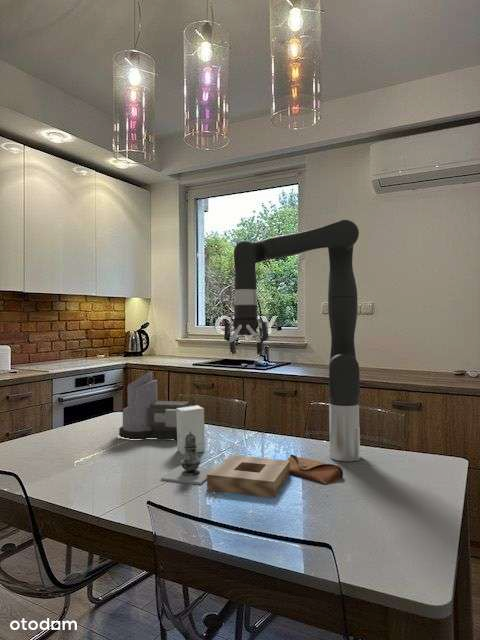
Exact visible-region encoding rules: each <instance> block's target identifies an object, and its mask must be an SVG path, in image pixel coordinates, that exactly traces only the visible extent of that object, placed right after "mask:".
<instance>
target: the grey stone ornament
mask: <svg viewBox="0 0 480 640" xmlns="http://www.w3.org/2000/svg"><path fill="white" fill-rule="evenodd" d="M189 433H190V434H188V435H187V436H186V437H185V447H184V448H185V455H184V458H182V459H180V461H179V462H180V465H182V467H183V468H184V469H185V470H184V471H183V472H182V473H181V474H182V475H184V476H196V475H199V474H200V471H198V470H196V469H197V468H198V467H200V465H201V462H202V460H201V459H200V458H199V457H197V452H196V448H197V446H196V442H195V435H193V434H191V433H192V432H191V431H190V432H189Z"/></svg>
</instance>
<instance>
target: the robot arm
mask: <svg viewBox="0 0 480 640" xmlns="http://www.w3.org/2000/svg"><path fill="white" fill-rule="evenodd" d="M359 235H360V231H359V228H358V225H356V223H355V222H354V221H351V220H350V219H349V220H348V219H340V220H338V221H335V222H332V223H329V224H327V225H324V226H321V227H318V228H313V229H310V230H309V229H308V230H305V231H301V232H300V231H299V232H294V233H288V234H282V235H277V236H270V237H267V238H265V239H263V240H261V241H255V242H251V241H249V240H241V241H239V242H238V243H237V244H236V245H235V247H234V249H233V263H234V272H235V273H234V274H235V276H234V297H233V305H234V306H233V309H234V310H233V311H234V313H233V315H234V316H233V317H234V321H233V322H230V321H226V322H225V323H224V337H223V339H224V341H227V342H229V351H230V353H231V354H232V355H236V354H237V342H236V341H237V339H238V338H239V337H240V336H252V337H253V338H254V339H255V340H256V354H257V355H261V353H263V350H264V349H263V347H264V345H263V344H264V342H266V341H269V330H268V329H269V328H268V322H267V321H262V322H259V320H258V318H259V317H258V293H257V288H258V287H257V274H256V264H258V263H262V262H265V261H269V260H276V259H277V260H278V259H282V258H286V257H287V258H288V257H292V256H295V255H299V254H302V253H306V252H309V251H314V250H318V249H326V248H327V249H328V259H329V274H328V285H327V286H328V287H327V288H328V290H327V304H328V305H327V310H328V312H327V313H328V321H329V322H328V323H329V328H330V335H331V337H330V338H331V342H330V343H331V344H330V354H329V355H330V356H329V363H328V375H329V376H328V381H329V383H328V385H329V386H328V388H329V389H328V391H329V392H328V401H329V402H328V403H329V404H328V405H329V407H328V408H329V458H330V459H332V460H334V461H339V462H360V461H359V460H360V457H361V430H360V429H361V428H360V379H361V378H360V377H361V376H360V364H359V362H358V360H357V355H356V346H355V332H356V327H357V319H358V288H357V282H356V279H355V278H356V277H355V274H354V269H353V268H354V267H353V253H354V245H355V244H356V243H357V241H358V239H359V237H360V236H359ZM259 327H260V329H261V330H262V331H261V332H262V333H261V334H262V336H261V335H260V333H259V332H258V328H259ZM233 328H234V329H235V331H234V332H233V333H232V336H231V330H232V329H233Z"/></svg>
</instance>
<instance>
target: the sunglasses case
mask: <svg viewBox="0 0 480 640" xmlns="http://www.w3.org/2000/svg"><path fill="white" fill-rule="evenodd" d="M287 460H289V461H290V475H289V476H293V477H298V478H301V479H305V480H307V481H313V482H315V483H319V484H322V485H325V486H328V485H330V484H331V483H334V482H336V481H338V480H340V479H343V477H344V473H343V469H342V468H341V467H340V466H338V465H336V464H331V463H330V464H329V463H325V462H321V461H318V460H314V459H310V458H305V457H300V456H297V455H295V454H290V456H289V457H288V458H287Z"/></svg>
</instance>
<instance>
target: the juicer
mask: <svg viewBox="0 0 480 640" xmlns="http://www.w3.org/2000/svg"><path fill="white" fill-rule="evenodd" d="M190 406H192V404H190V401H180V400H179V401H178V400H177V401H175V400H172V401H171V400H169V401H168V400H158V380H157V379H153V372H152V371H150V372H148V373H146V374H144V375H142V376H140V377H138V378H137V379H135V380H133V381H132V382H130V383H129V384H127V407H125V408H123V410H122V426H120V427H119V429H118V432H119V433H118V434H119V435H120V436H121V437H124V438H129V439H146V438H157V439H174V440H177V419H176V408H182V407H190Z"/></svg>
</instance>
